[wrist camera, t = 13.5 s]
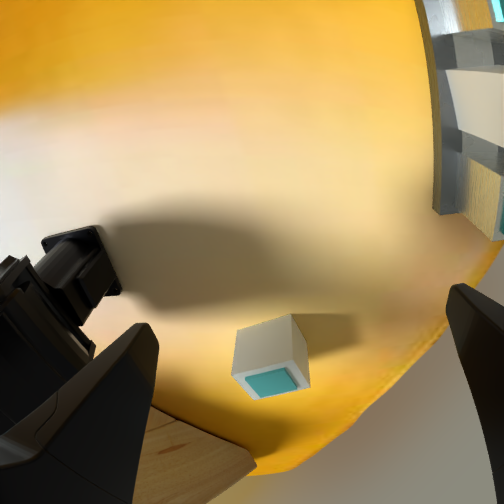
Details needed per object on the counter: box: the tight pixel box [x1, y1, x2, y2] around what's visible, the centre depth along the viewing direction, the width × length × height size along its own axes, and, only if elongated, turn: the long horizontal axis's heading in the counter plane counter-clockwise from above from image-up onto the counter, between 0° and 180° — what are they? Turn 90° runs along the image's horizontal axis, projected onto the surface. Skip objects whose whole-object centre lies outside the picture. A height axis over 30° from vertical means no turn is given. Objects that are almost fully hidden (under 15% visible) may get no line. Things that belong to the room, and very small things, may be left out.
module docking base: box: [414, 0, 504, 242], centre depth 12 cm, size 7×17×6 cm, turn 11°
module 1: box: [231, 314, 310, 400], centre depth 25 cm, size 5×4×5 cm
